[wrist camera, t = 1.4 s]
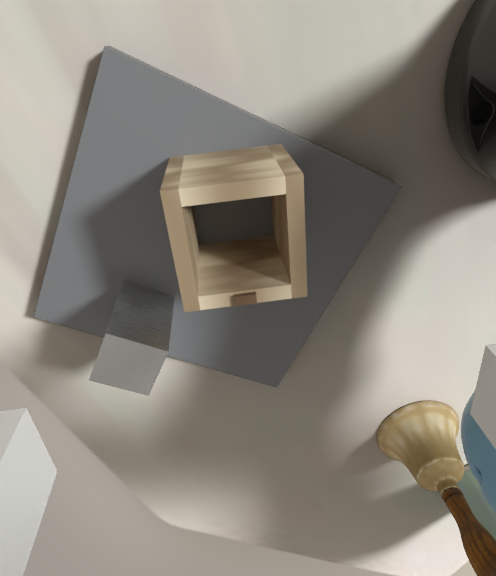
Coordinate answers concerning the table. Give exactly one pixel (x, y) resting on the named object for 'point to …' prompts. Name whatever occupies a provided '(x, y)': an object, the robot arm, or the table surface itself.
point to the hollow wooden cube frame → (246, 252)
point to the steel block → (135, 339)
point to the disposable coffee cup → (477, 501)
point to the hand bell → (438, 469)
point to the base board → (209, 219)
